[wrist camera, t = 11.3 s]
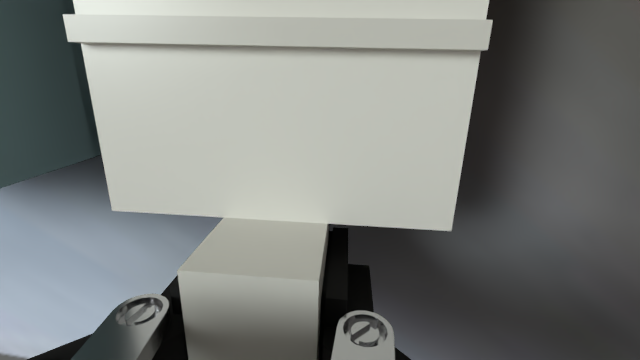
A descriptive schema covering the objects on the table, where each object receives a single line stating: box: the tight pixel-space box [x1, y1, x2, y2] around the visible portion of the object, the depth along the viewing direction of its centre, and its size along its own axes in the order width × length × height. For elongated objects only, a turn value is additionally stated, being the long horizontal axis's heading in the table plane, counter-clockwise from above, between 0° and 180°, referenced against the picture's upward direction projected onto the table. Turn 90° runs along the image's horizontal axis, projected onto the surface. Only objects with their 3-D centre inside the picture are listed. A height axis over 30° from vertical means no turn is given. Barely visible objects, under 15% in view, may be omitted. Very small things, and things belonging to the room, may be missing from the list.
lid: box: [63, 0, 493, 360], centre depth 7 cm, size 10×19×4 cm, turn 178°
